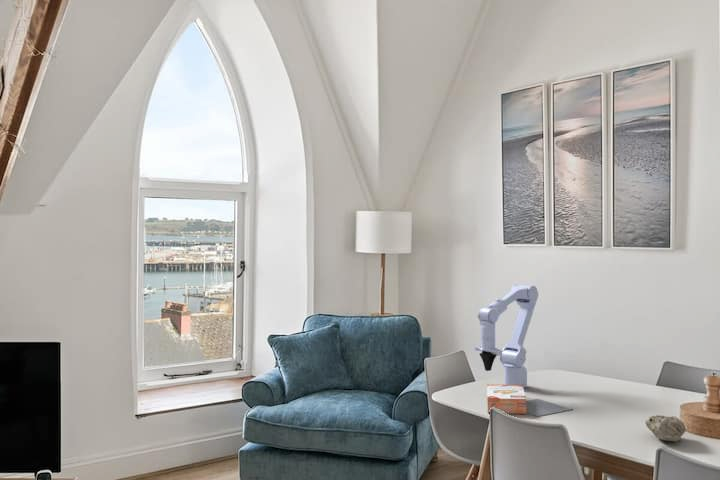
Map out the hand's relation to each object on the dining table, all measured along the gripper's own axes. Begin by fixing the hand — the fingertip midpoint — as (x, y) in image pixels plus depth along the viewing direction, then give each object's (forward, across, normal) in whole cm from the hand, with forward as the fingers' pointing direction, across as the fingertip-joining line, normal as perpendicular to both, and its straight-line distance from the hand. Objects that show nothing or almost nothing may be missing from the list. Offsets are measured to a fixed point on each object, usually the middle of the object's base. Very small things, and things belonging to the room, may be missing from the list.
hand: (488, 370), depth 275 cm
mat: (+9, +27, 0) cm, 29 cm away
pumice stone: (+10, +77, +6) cm, 77 cm away
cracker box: (+6, +12, -2) cm, 13 cm away
